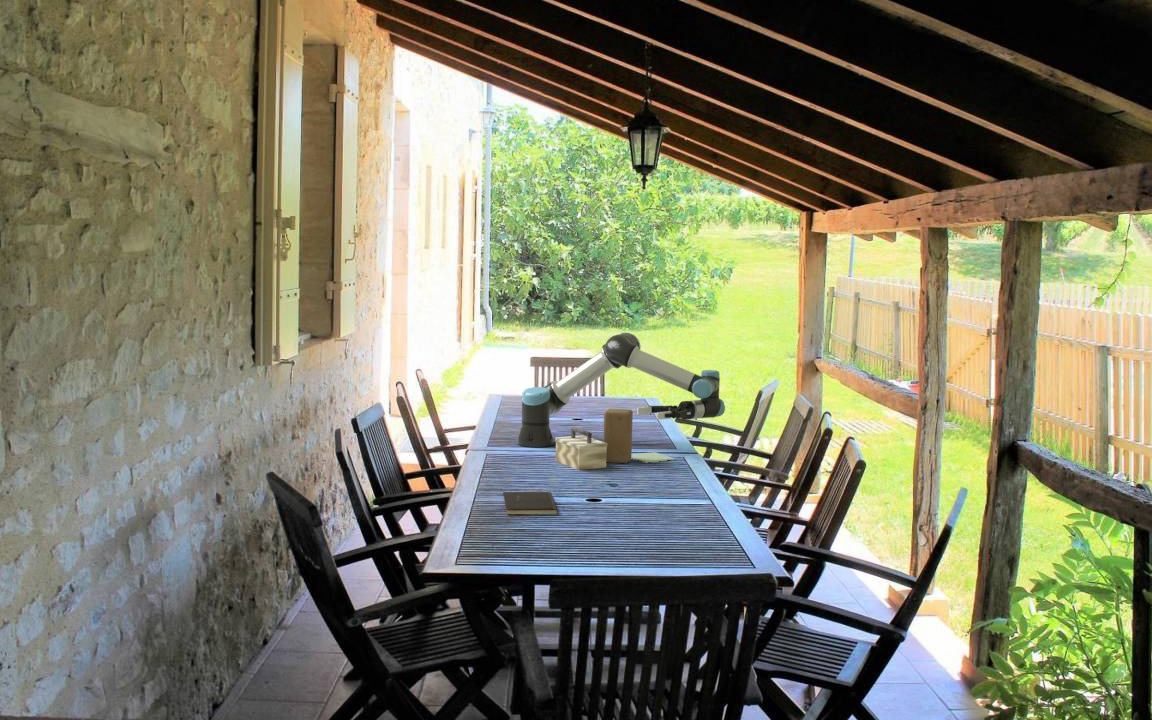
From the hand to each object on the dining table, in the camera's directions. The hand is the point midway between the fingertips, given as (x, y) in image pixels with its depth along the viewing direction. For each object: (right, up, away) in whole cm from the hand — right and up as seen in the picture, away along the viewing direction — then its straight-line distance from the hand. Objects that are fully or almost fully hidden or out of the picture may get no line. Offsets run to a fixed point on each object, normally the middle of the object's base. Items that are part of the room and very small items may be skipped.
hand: (647, 413), depth 397 cm
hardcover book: (-43, -26, -76) cm, 91 cm away
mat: (+1, -18, +3) cm, 18 cm away
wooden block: (-12, -19, -4) cm, 22 cm away
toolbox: (-26, -19, -11) cm, 34 cm away
